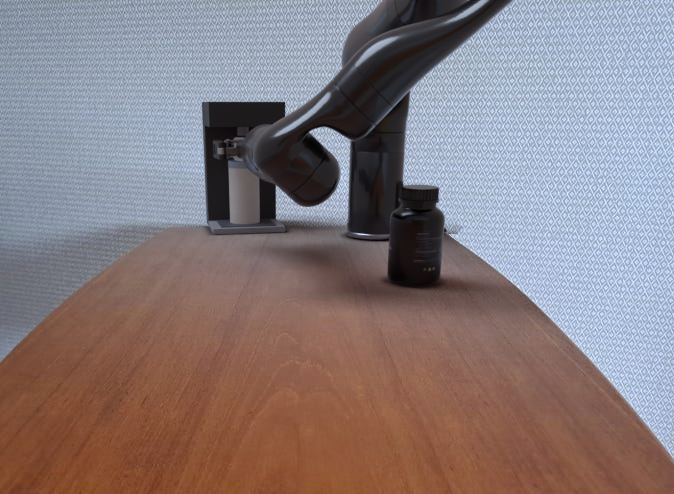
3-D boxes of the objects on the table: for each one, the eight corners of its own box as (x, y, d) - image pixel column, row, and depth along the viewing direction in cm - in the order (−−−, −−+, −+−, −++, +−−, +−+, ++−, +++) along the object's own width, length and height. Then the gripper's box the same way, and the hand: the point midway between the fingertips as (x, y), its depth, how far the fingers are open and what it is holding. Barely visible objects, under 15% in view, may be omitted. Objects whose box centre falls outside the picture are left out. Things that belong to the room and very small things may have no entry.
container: (262, 220, 128) (261, 159, 124) (257, 224, 123) (256, 161, 119) (233, 219, 129) (231, 159, 125) (226, 224, 123) (224, 161, 119)
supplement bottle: (376, 277, 90) (381, 184, 86) (419, 272, 92) (425, 182, 88) (406, 289, 84) (412, 190, 80) (450, 284, 87) (459, 188, 82)
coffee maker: (285, 232, 122) (285, 101, 114) (213, 234, 120) (208, 101, 112) (272, 220, 134) (271, 102, 126) (206, 222, 132) (201, 102, 124)
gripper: (222, 182, 94) (211, 171, 109) (321, 180, 97) (297, 169, 112) (220, 125, 92) (209, 121, 106) (322, 124, 94) (297, 121, 109)
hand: (254, 146), depth 109 cm, fingers open, 8 cm apart
